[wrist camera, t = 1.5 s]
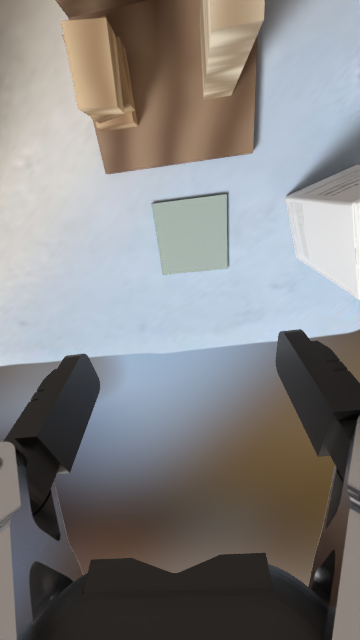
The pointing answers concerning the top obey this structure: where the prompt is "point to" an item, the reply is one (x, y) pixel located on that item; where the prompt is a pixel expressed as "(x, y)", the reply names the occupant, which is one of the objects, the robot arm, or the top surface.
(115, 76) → the offcut top
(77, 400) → the robot arm
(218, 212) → the mat
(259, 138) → the top surface
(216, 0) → the pale wooden block
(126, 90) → the offcut mid
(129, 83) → the offcut low
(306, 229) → the supplement box
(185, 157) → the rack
